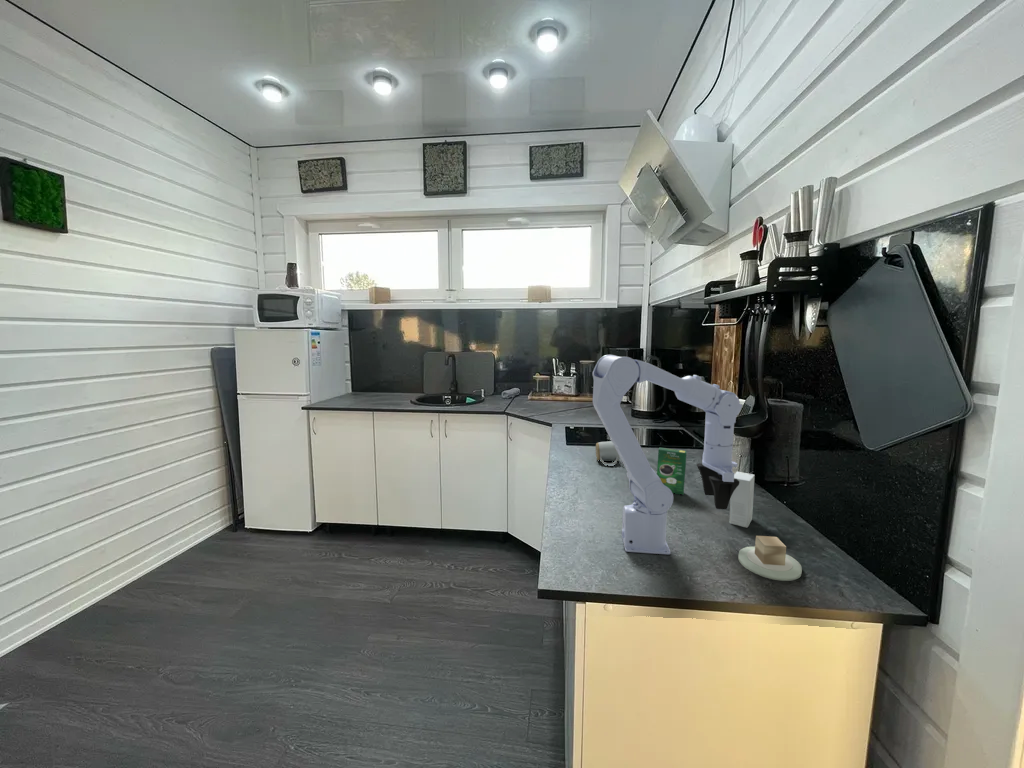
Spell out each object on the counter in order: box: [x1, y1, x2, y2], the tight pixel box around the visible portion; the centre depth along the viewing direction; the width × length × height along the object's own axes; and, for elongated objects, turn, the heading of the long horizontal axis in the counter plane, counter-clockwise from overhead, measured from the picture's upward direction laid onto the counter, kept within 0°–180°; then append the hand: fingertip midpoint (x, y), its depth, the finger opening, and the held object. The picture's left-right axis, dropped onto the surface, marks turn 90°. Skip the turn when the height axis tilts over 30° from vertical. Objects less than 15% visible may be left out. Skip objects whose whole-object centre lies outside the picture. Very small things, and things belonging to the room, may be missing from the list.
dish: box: [737, 545, 803, 582], centre depth 84 cm, size 11×11×1 cm
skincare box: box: [728, 471, 756, 528], centre depth 103 cm, size 6×4×12 cm
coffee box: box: [656, 447, 688, 496], centre depth 123 cm, size 8×3×13 cm, turn 65°
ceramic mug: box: [595, 440, 621, 465], centre depth 151 cm, size 11×8×8 cm
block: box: [754, 535, 787, 566], centre depth 84 cm, size 4×4×4 cm
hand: (715, 501), depth 93 cm, fingers open, 7 cm apart
